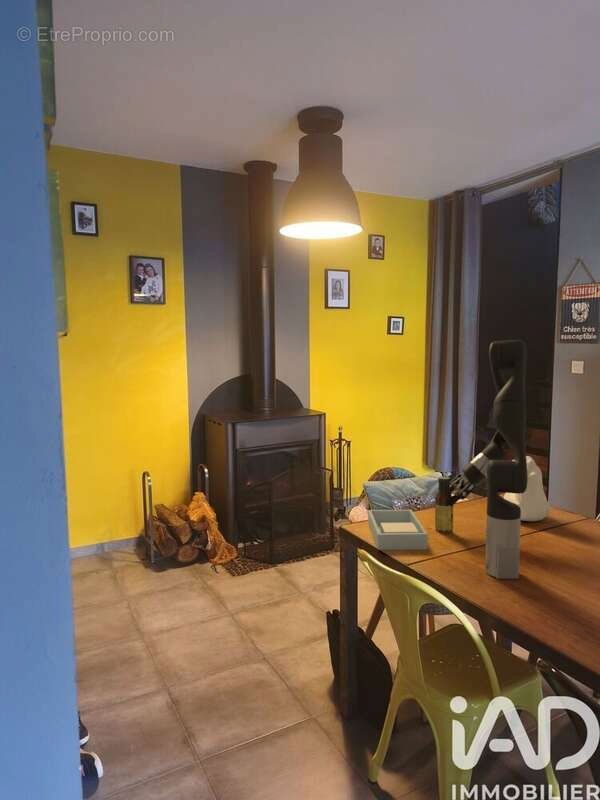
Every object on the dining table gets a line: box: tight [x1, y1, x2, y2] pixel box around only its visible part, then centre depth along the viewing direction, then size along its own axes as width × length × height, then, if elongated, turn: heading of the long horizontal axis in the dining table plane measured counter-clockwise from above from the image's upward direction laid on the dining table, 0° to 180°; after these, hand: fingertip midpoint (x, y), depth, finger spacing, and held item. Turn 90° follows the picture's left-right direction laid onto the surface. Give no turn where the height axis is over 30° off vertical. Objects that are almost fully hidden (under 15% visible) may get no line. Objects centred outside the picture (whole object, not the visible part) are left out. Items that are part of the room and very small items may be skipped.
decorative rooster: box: [503, 455, 551, 522], centre depth 206 cm, size 25×16×25 cm, turn 167°
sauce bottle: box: [434, 476, 454, 534], centre depth 189 cm, size 7×6×20 cm
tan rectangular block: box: [380, 523, 418, 533], centre depth 179 cm, size 9×11×5 cm
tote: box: [367, 509, 429, 551], centre depth 185 cm, size 26×16×6 cm, turn 0°
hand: (445, 501), depth 189 cm, fingers open, 8 cm apart
